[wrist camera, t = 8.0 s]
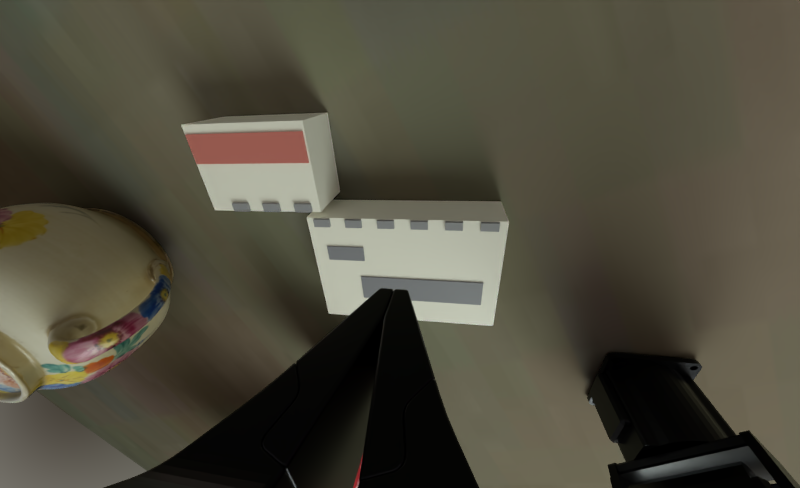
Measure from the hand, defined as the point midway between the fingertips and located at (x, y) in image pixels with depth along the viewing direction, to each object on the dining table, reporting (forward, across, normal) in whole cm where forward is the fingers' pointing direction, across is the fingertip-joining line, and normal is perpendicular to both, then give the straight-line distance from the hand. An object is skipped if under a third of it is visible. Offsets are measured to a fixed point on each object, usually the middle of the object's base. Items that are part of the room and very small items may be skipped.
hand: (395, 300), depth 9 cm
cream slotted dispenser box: (+12, +1, +5) cm, 13 cm away
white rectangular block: (+12, +10, -2) cm, 15 cm away
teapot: (+12, +28, +8) cm, 31 cm away
